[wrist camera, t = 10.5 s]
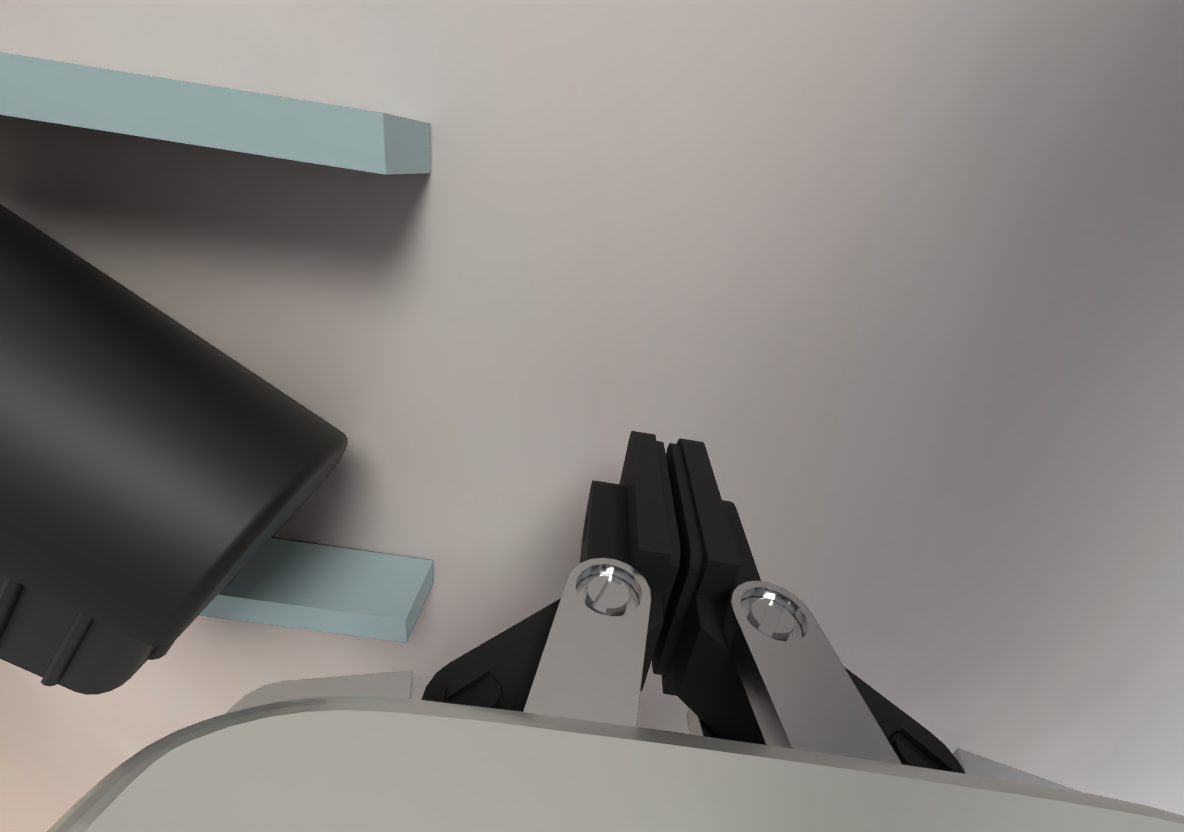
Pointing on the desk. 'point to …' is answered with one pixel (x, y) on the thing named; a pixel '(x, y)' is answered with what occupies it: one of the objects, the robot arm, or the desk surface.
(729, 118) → the desk surface
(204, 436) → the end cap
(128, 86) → the u-shaped bracket with socket
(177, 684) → the desk surface
